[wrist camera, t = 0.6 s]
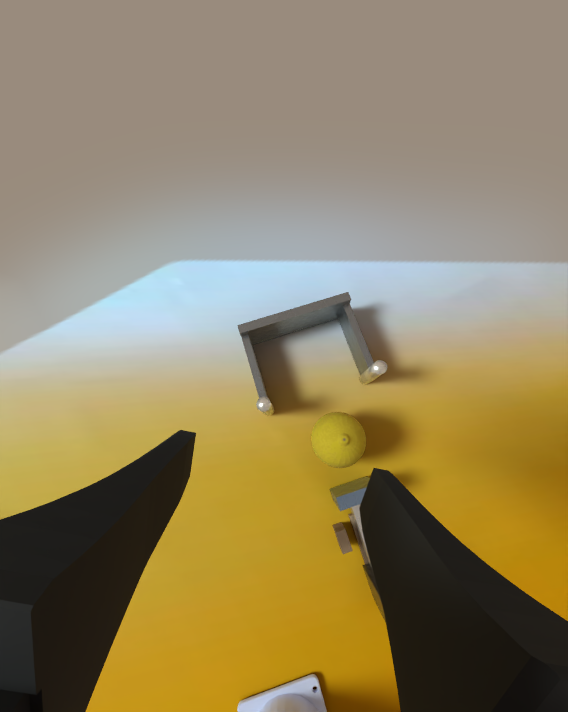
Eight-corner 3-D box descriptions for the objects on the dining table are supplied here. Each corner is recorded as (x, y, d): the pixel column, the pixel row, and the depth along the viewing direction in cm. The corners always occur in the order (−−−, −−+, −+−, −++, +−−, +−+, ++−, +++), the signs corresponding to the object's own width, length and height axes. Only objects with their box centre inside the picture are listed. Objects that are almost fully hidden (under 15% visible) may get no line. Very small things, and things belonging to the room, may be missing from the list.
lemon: (343, 407, 35) (358, 399, 28) (364, 452, 34) (386, 457, 26) (301, 425, 35) (304, 423, 27) (321, 471, 33) (329, 482, 26)
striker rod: (405, 582, 30) (436, 621, 24) (365, 596, 30) (385, 640, 23) (366, 476, 33) (384, 486, 26) (329, 488, 33) (338, 501, 26)
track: (418, 593, 30) (429, 607, 28) (361, 614, 30) (367, 630, 27) (384, 501, 32) (391, 507, 30) (331, 520, 32) (334, 527, 30)
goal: (372, 382, 36) (389, 371, 30) (264, 417, 35) (258, 413, 29) (343, 309, 39) (353, 284, 32) (242, 340, 38) (232, 321, 32)
